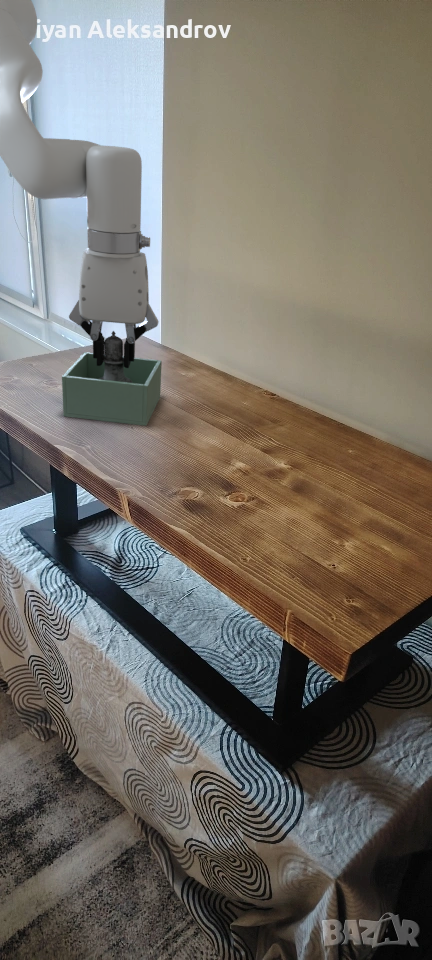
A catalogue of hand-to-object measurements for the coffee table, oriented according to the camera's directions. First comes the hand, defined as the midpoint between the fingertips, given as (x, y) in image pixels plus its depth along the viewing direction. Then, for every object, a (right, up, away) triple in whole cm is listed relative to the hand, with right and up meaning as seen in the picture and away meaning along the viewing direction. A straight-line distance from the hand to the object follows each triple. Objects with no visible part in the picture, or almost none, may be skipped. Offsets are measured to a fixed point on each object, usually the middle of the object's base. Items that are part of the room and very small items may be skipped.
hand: (114, 363), depth 99 cm
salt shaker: (0, -6, +3) cm, 7 cm away
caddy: (-1, -6, +4) cm, 7 cm away
